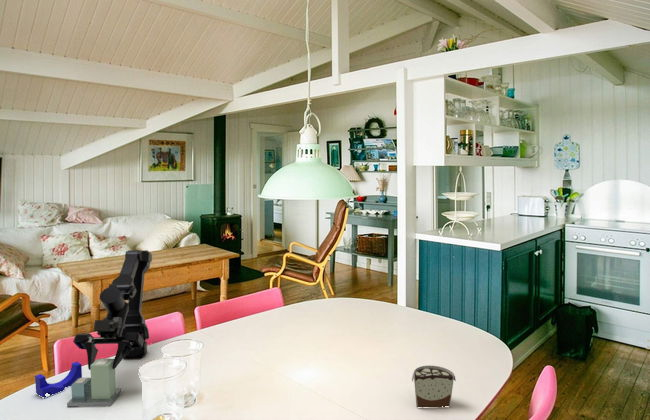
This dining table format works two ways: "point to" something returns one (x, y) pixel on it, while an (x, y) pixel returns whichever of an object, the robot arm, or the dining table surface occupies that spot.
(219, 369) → the dining table surface
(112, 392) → the block
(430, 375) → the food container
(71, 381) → the blue curved cradle
